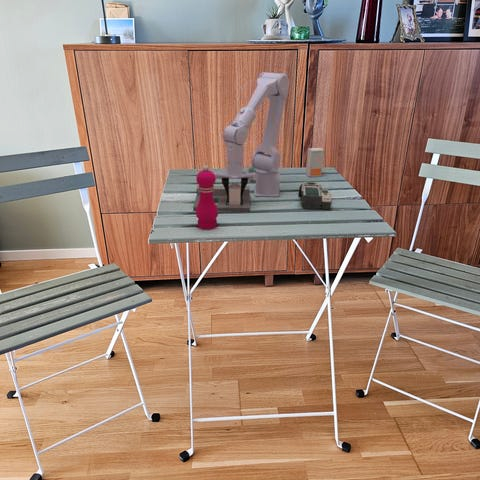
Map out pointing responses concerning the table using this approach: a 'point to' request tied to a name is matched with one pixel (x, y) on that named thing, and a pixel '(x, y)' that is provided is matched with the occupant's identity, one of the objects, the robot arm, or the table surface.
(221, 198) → the socket panel
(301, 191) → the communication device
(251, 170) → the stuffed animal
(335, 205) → the table surface
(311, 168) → the skincare box
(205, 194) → the pepper mill
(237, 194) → the plug
